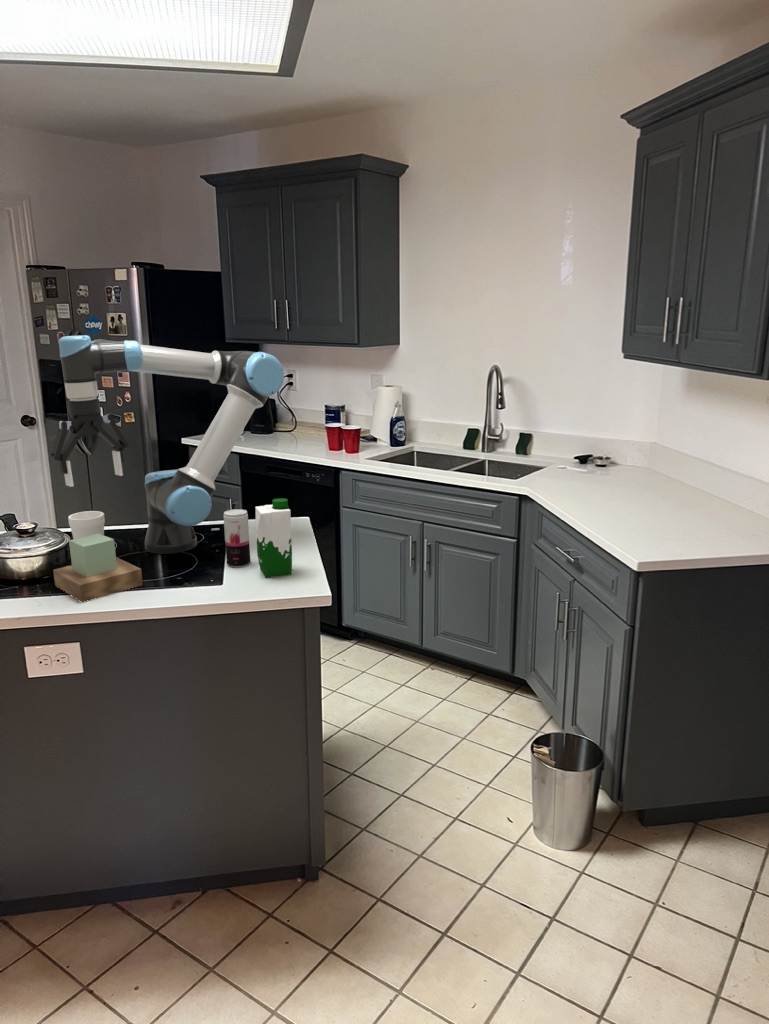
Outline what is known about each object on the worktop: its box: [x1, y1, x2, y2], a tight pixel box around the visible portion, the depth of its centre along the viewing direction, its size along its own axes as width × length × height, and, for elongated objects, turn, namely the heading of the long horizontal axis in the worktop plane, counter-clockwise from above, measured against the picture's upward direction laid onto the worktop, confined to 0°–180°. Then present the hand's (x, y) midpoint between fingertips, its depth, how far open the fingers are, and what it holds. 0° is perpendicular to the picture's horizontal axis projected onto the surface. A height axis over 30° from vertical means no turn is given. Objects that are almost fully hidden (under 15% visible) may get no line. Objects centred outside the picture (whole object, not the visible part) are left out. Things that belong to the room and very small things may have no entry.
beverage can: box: [223, 508, 251, 568], centre depth 208 cm, size 7×7×15 cm
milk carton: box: [254, 497, 293, 579], centre depth 200 cm, size 9×9×20 cm
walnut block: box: [52, 556, 144, 603], centre depth 194 cm, size 16×16×5 cm
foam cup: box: [67, 510, 106, 539], centre depth 213 cm, size 10×9×13 cm
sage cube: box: [68, 533, 117, 577], centre depth 192 cm, size 8×8×8 cm
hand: (95, 480), depth 195 cm, fingers open, 13 cm apart
